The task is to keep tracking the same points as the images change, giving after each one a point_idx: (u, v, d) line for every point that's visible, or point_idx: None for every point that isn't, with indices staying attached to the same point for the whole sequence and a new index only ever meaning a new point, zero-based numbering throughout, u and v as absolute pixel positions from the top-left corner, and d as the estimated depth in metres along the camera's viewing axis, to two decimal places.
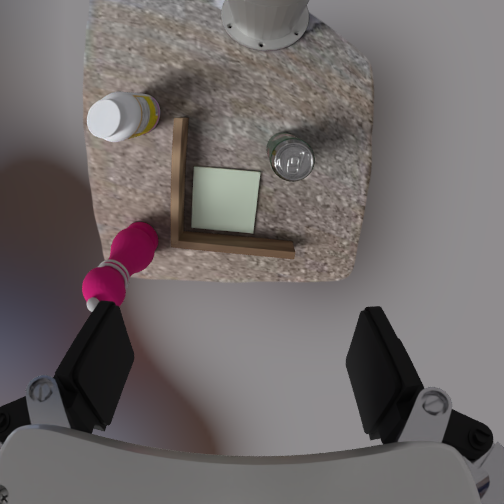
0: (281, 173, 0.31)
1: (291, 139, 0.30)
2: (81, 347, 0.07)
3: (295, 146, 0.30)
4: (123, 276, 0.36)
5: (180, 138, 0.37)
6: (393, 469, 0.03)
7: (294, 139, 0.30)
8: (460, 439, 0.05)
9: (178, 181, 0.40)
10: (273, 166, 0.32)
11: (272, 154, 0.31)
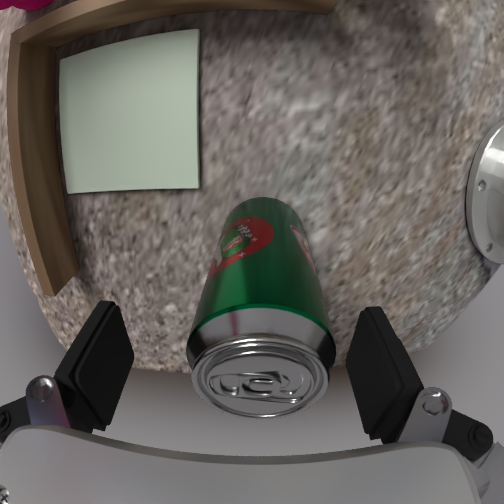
0: (208, 357, 0.08)
1: (333, 356, 0.09)
2: (81, 347, 0.07)
3: (314, 382, 0.08)
4: None
5: None
6: (393, 469, 0.03)
7: (333, 362, 0.09)
8: (460, 439, 0.05)
9: None
10: (228, 320, 0.08)
11: (277, 311, 0.08)
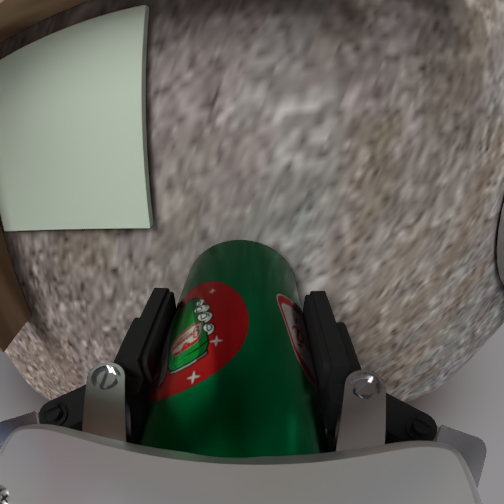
0: None
1: None
2: (145, 332, 0.08)
3: None
4: None
5: None
6: (393, 469, 0.03)
7: None
8: (397, 436, 0.06)
9: None
10: None
11: None
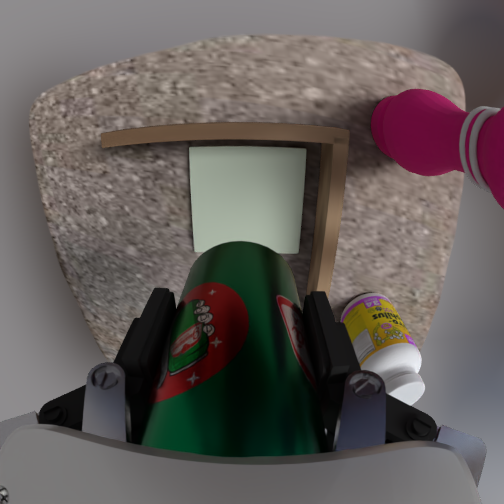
0: None
1: None
2: (145, 332, 0.08)
3: None
4: (475, 159, 0.11)
5: None
6: (393, 469, 0.03)
7: None
8: (397, 436, 0.06)
9: (323, 255, 0.24)
10: None
11: None
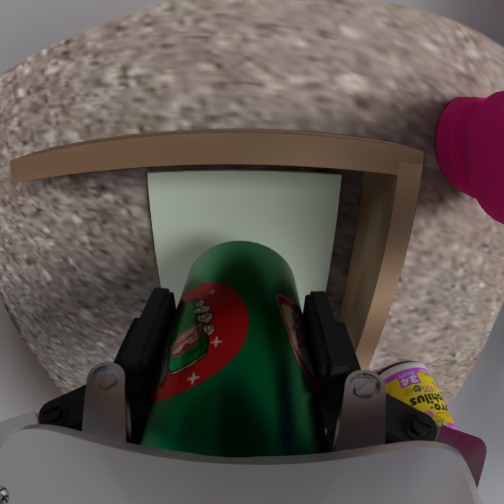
0: None
1: None
2: (145, 332, 0.08)
3: None
4: None
5: None
6: (393, 469, 0.03)
7: None
8: (397, 436, 0.06)
9: (359, 345, 0.15)
10: None
11: None
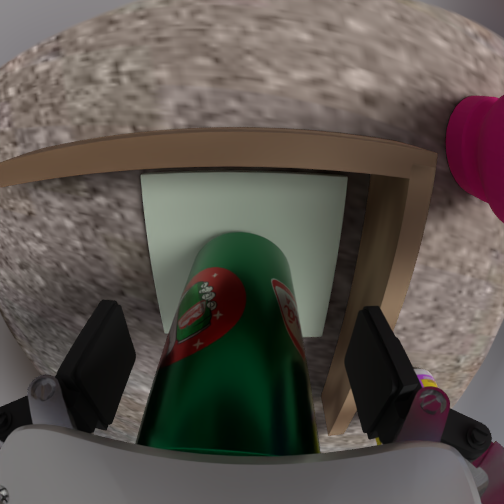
0: None
1: None
2: (83, 346, 0.08)
3: None
4: None
5: (338, 416, 0.17)
6: (393, 469, 0.03)
7: None
8: (458, 439, 0.05)
9: None
10: None
11: None
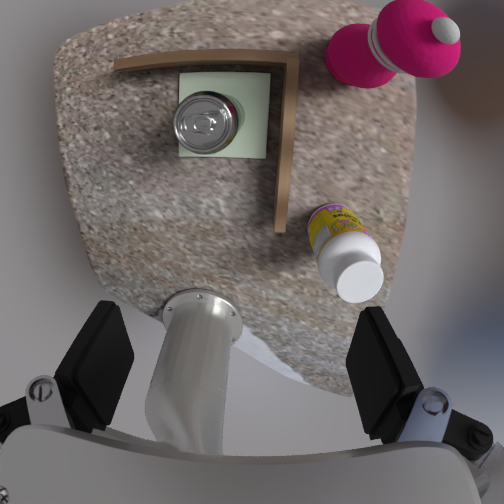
0: (182, 108, 0.19)
1: (236, 116, 0.20)
2: (81, 347, 0.07)
3: (226, 122, 0.19)
4: (378, 44, 0.15)
5: (277, 207, 0.31)
6: (393, 469, 0.03)
7: (237, 121, 0.20)
8: (460, 439, 0.05)
9: (282, 151, 0.28)
10: (191, 96, 0.19)
11: (210, 92, 0.19)
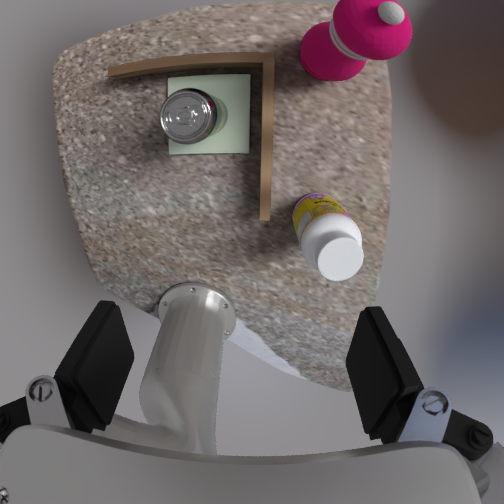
0: (167, 103, 0.21)
1: (215, 108, 0.22)
2: (81, 347, 0.07)
3: (205, 114, 0.21)
4: (337, 35, 0.17)
5: (261, 197, 0.33)
6: (393, 469, 0.03)
7: (215, 112, 0.22)
8: (460, 439, 0.05)
9: (262, 143, 0.30)
10: (175, 93, 0.21)
11: (191, 89, 0.21)
